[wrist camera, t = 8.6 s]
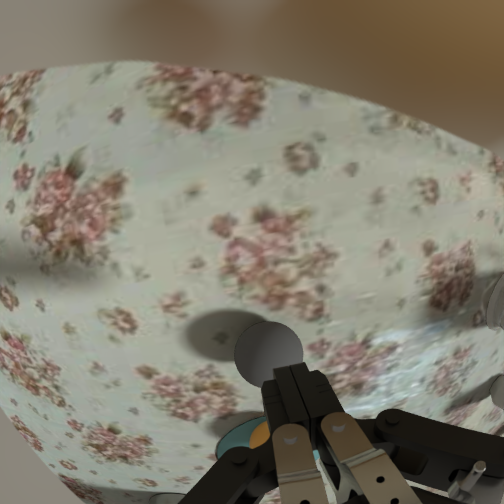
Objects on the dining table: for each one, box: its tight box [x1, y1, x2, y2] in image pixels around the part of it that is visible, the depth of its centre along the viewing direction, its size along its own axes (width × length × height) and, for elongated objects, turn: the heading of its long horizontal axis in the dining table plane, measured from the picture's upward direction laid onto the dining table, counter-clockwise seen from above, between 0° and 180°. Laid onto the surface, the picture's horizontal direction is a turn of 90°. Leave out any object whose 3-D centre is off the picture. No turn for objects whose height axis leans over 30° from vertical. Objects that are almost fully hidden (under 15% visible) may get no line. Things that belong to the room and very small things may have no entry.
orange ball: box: [249, 421, 270, 449], centre depth 28 cm, size 6×6×6 cm
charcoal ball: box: [234, 321, 303, 388], centre depth 24 cm, size 6×6×6 cm
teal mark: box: [217, 416, 320, 461], centre depth 32 cm, size 14×14×1 cm
